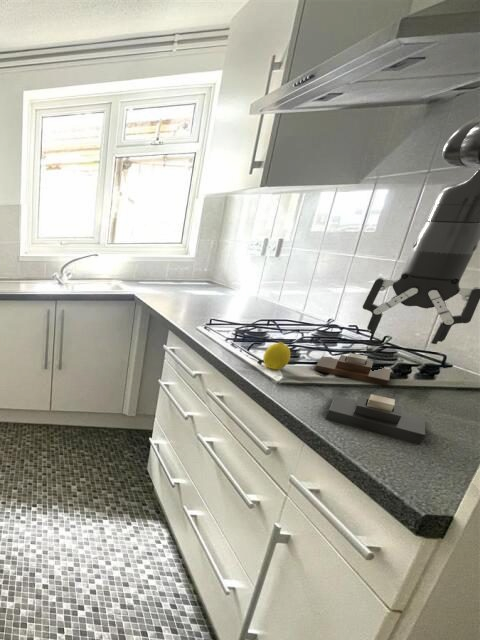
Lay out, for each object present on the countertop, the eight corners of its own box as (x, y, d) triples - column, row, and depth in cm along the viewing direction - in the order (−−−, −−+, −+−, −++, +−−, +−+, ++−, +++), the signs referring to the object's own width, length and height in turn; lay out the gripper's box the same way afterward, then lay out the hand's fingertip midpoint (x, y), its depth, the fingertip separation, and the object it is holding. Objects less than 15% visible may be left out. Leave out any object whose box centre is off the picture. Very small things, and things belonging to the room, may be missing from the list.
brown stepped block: (387, 377, 107) (393, 363, 105) (385, 388, 100) (392, 373, 99) (319, 363, 116) (324, 350, 114) (313, 373, 109) (318, 358, 108)
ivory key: (391, 407, 83) (395, 399, 83) (390, 413, 81) (394, 405, 80) (367, 401, 86) (371, 394, 85) (366, 407, 83) (369, 399, 83)
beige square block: (365, 362, 107) (367, 356, 106) (363, 366, 104) (366, 359, 104) (346, 359, 109) (349, 352, 108) (345, 362, 107) (347, 356, 106)
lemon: (264, 373, 109) (273, 344, 106) (256, 366, 114) (265, 338, 111) (288, 375, 108) (298, 346, 104) (279, 368, 113) (288, 339, 109)
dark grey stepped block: (420, 426, 84) (429, 408, 82) (420, 445, 77) (429, 426, 75) (331, 404, 93) (338, 387, 91) (325, 419, 86) (331, 402, 84)
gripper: (502, 251, 71) (455, 342, 77) (389, 244, 80) (355, 326, 87) (507, 255, 66) (456, 351, 72) (385, 247, 75) (350, 333, 82)
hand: (401, 337), depth 80 cm, fingers open, 8 cm apart
